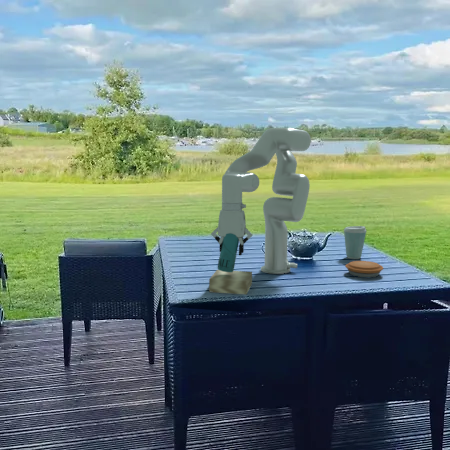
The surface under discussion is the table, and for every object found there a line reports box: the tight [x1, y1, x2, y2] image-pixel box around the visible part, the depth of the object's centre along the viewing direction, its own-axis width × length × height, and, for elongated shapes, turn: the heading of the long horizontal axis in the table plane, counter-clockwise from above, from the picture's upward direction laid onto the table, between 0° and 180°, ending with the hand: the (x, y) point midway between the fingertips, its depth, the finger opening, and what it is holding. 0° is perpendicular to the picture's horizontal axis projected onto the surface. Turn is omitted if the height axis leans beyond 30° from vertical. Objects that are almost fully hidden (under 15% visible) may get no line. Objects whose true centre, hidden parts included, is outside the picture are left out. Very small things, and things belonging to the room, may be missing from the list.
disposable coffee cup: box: [343, 225, 367, 260], centre depth 263 cm, size 11×11×15 cm
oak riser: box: [208, 269, 253, 295], centre depth 212 cm, size 14×14×5 cm
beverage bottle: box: [217, 233, 240, 272], centre depth 209 cm, size 6×7×20 cm
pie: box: [344, 260, 384, 278], centre depth 233 cm, size 15×16×5 cm
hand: (231, 253), depth 210 cm, fingers open, 6 cm apart
